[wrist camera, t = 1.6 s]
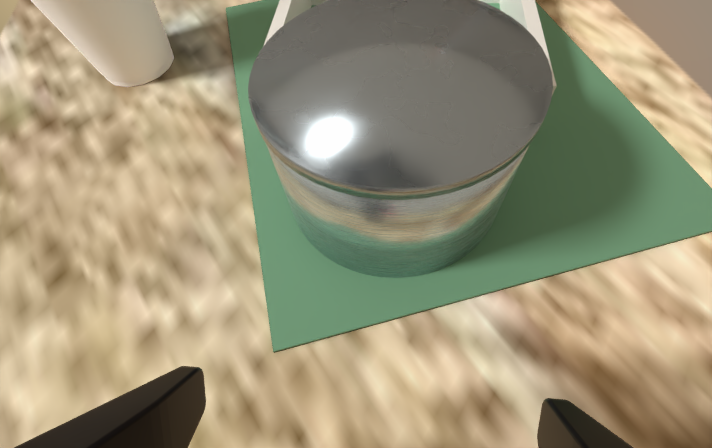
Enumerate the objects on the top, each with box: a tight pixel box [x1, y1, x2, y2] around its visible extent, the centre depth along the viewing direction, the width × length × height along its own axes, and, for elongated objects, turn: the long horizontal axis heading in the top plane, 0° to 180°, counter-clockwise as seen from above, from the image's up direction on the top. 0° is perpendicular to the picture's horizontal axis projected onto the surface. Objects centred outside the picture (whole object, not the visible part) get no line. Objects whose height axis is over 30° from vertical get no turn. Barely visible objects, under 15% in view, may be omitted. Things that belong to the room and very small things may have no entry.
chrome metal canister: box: [248, 0, 553, 278], centre depth 22 cm, size 14×14×9 cm
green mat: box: [226, 0, 712, 352], centre depth 31 cm, size 35×28×1 cm
